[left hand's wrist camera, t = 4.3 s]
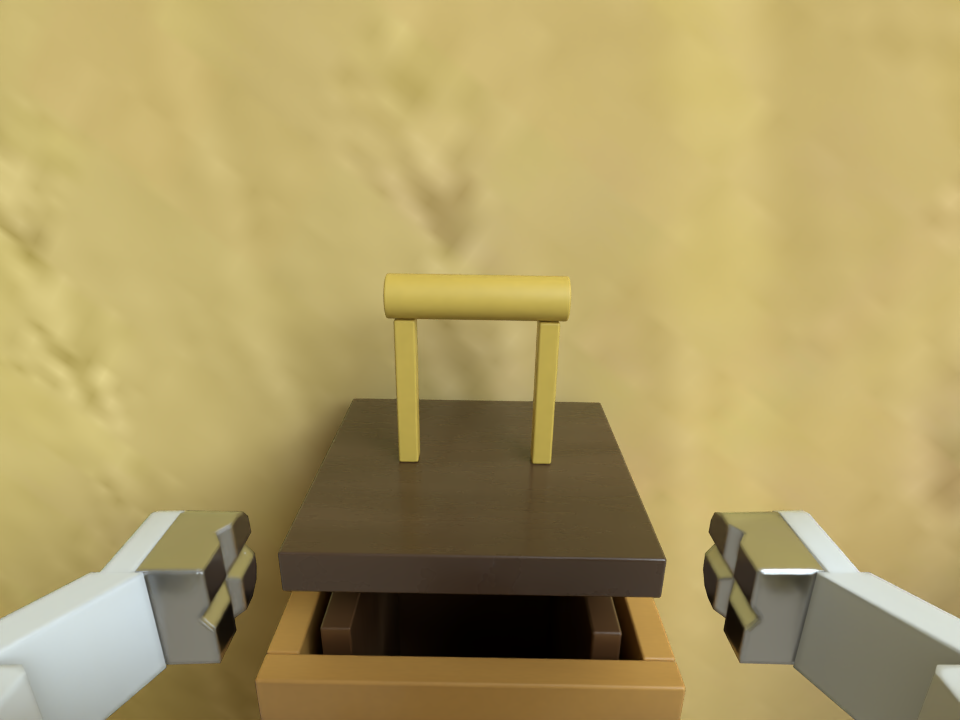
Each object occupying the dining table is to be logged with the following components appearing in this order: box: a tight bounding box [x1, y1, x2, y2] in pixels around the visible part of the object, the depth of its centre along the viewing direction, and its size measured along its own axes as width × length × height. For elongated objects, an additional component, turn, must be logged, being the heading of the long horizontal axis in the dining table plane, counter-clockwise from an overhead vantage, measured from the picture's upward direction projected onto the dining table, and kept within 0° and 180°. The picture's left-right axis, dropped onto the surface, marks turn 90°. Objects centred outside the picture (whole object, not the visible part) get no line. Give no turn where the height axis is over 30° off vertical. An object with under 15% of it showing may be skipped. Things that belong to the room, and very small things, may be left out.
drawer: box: [278, 273, 667, 660], centre depth 21 cm, size 24×9×9 cm, turn 179°
